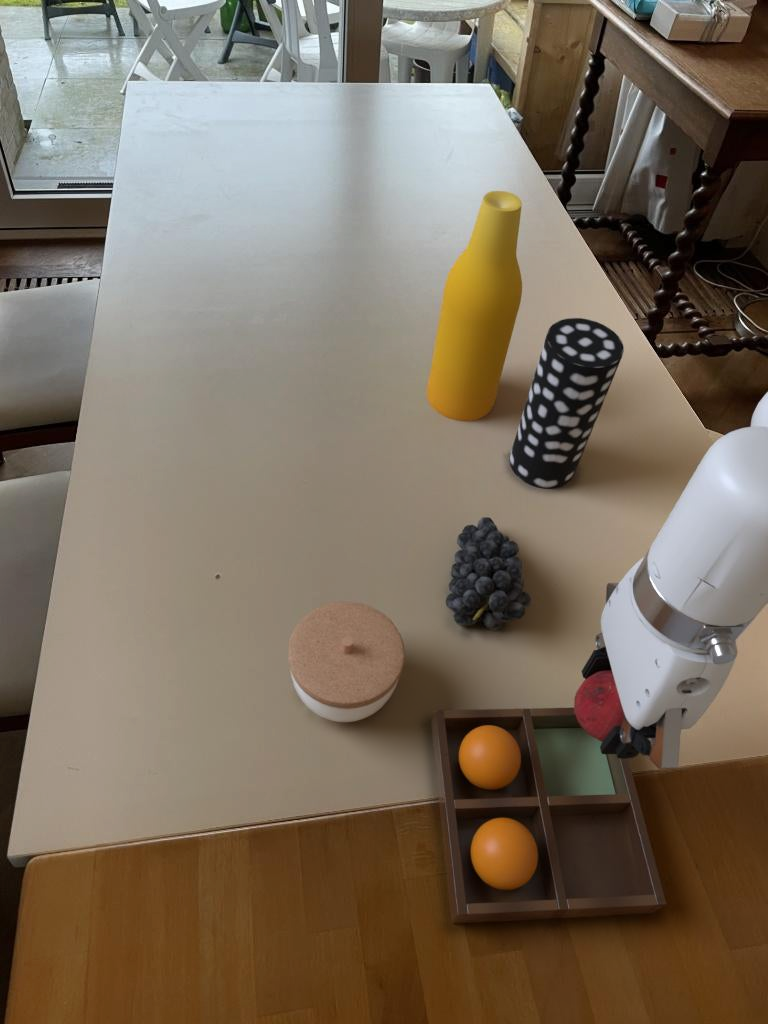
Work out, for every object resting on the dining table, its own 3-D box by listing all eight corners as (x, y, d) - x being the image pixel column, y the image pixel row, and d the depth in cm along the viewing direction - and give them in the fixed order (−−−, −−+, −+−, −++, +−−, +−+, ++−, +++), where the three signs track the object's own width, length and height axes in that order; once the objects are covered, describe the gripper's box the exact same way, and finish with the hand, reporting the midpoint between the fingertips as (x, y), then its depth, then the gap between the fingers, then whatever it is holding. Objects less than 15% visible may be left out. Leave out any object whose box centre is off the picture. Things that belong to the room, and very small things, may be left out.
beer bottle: (441, 369, 110) (478, 170, 87) (503, 393, 108) (556, 195, 85) (414, 409, 104) (446, 206, 82) (478, 434, 102) (528, 234, 80)
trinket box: (318, 625, 82) (320, 575, 75) (412, 665, 80) (424, 617, 73) (269, 712, 76) (266, 666, 68) (371, 757, 74) (379, 714, 66)
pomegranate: (563, 750, 65) (591, 709, 59) (564, 688, 69) (591, 643, 63) (632, 764, 65) (668, 724, 59) (630, 701, 69) (663, 657, 63)
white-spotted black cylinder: (543, 502, 96) (590, 378, 80) (494, 462, 99) (531, 336, 84) (586, 472, 100) (639, 348, 84) (538, 434, 103) (580, 308, 88)
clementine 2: (523, 828, 70) (538, 807, 66) (534, 896, 67) (551, 878, 62) (461, 830, 69) (472, 809, 65) (470, 899, 66) (482, 881, 62)
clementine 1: (508, 739, 75) (521, 714, 71) (518, 797, 72) (532, 775, 67) (450, 740, 75) (460, 715, 70) (458, 799, 71) (468, 777, 67)
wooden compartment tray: (602, 723, 78) (614, 706, 75) (650, 915, 67) (666, 904, 64) (429, 727, 76) (435, 710, 73) (450, 925, 65) (457, 914, 62)
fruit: (477, 478, 85) (472, 591, 75) (543, 504, 87) (546, 617, 77) (441, 522, 91) (432, 632, 81) (503, 546, 93) (502, 656, 83)
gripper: (800, 715, 46) (683, 816, 60) (706, 491, 57) (625, 621, 71) (678, 717, 45) (588, 819, 59) (606, 490, 56) (544, 622, 70)
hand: (609, 710), depth 65 cm, fingers closed on pomegranate, 5 cm apart
